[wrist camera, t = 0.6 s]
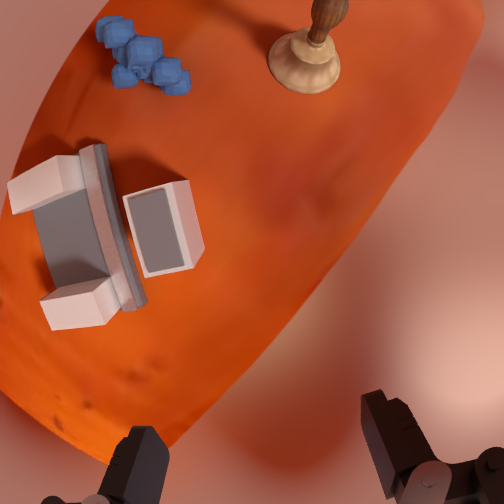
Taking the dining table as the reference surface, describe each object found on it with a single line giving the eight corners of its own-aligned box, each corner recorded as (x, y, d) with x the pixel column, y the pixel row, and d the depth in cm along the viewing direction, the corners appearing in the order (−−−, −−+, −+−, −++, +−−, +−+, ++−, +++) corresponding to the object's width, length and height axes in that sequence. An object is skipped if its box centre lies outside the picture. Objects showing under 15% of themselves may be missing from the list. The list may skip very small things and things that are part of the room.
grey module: (147, 190, 31) (120, 196, 24) (188, 179, 31) (170, 182, 24) (164, 257, 34) (143, 279, 26) (205, 248, 33) (192, 269, 26)
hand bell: (291, 105, 29) (326, 49, 14) (254, 48, 27) (256, -36, 12) (352, 79, 28) (420, 23, 12) (315, 24, 26) (354, -55, 11)
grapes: (106, 76, 27) (52, 46, 16) (144, 35, 26) (103, -10, 15) (168, 128, 30) (125, 107, 18) (210, 84, 28) (188, 41, 17)
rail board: (32, 177, 30) (1, 181, 24) (105, 144, 30) (77, 140, 24) (72, 312, 36) (48, 334, 29) (147, 301, 35) (128, 326, 29)
